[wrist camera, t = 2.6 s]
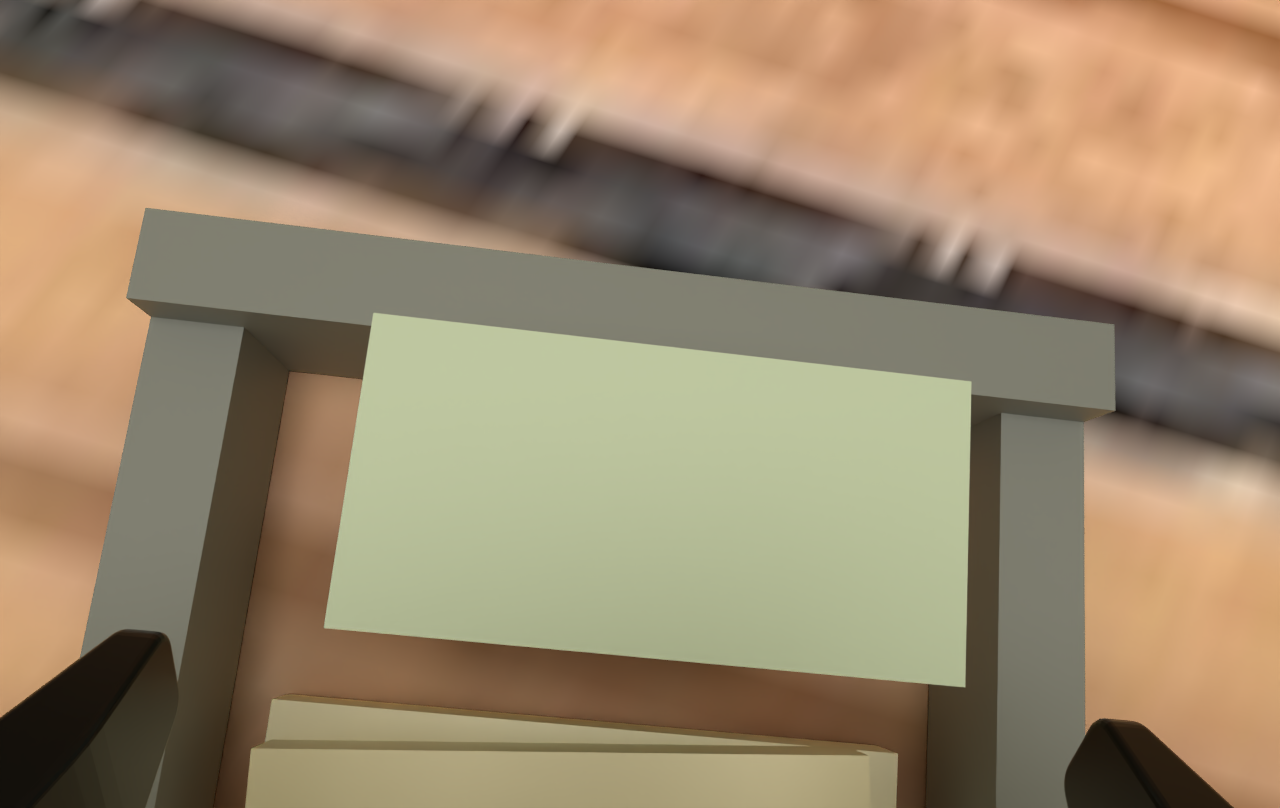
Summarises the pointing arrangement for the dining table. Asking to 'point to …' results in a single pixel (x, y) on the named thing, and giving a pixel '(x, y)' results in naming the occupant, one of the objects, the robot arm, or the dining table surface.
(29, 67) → the dining table surface
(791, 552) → the green block
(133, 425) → the frame
